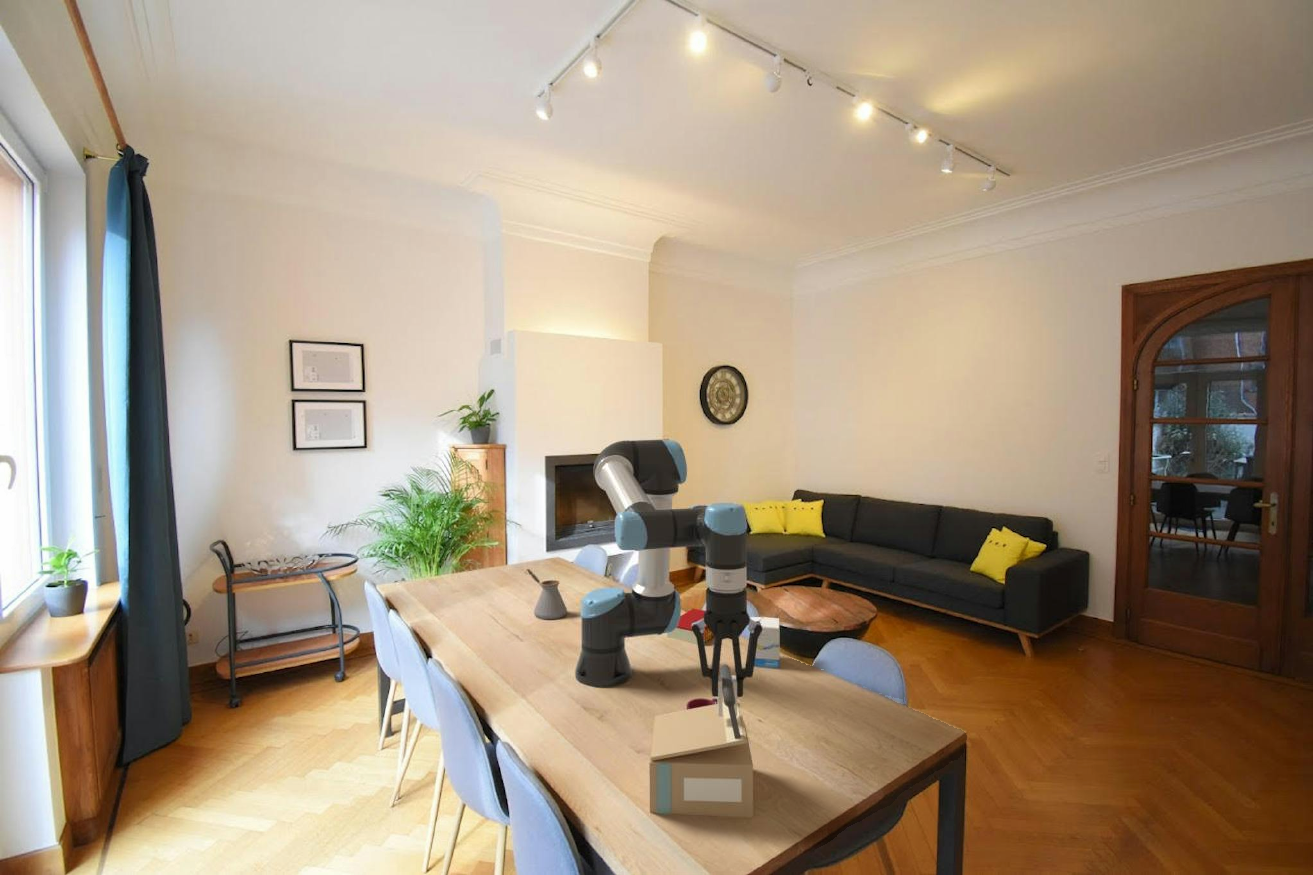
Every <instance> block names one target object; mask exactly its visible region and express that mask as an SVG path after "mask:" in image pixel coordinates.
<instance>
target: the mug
mask: <svg viewBox="0 0 1313 875" xmlns="http://www.w3.org/2000/svg"><path fill="white" fill-rule="evenodd" d="M714 704H718V698H715V697H714V698H713V699H709V698H702V697H701V698H700V697H699V698H695V699H694V698H693V699H691V700H689V701H688V702H686V710H688V709H693V708H699V707H704V706H709V705H714Z"/></svg>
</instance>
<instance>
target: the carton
mask: <svg viewBox="0 0 1313 875" xmlns="http://www.w3.org/2000/svg"><path fill="white" fill-rule="evenodd" d="M743 722H744V727H745V732H746V738H747V743H745V744H739V745H734V746H728V747H723V748H718V749H712V750H707V751H701V752H696V753H691V754H685V755H680V756H674V757H669V758H664V759H658V760H653V761H651V758H650V757H651V753H650V754H649V755H650V756H649V813H654V814H659V815H672V814H673V815H674V814H675V815H689V816H690V815H693V816H710V817H712V816H713V817H728V818H750V819H752V818H754V763H753V759H752V753H751V749H750V748H751V747H750V743H749V737H748V732H747V726H746V722H745V720H743ZM652 727H653V728H652V730H653V729H654V725H653V726H652ZM652 738H653V734H652V735H651V739H652ZM651 748H652V743H651V746H650V749H651Z"/></svg>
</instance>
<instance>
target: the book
mask: <svg viewBox="0 0 1313 875" xmlns="http://www.w3.org/2000/svg"><path fill="white" fill-rule="evenodd" d="M705 612H706V610H704V609H703V610H702V609H699V608H692V609H690V610H688V611H686V612H685V613H683V614H681V615H680V620H679V623H678V626H677V627H676V629H675V630H674V631H672V632H669V633H666V637H667V638H669V639H673V638H674V640H678V641H682V642H686V643H690V644H694V645H697V646H698V644H697V638H696V636H695V634H694V633H693V631H692V622H693V621H699V620H701V619H703V618H704V614H705ZM704 628H705V631H704V632H703V638H704V644H705V643H706V642H707V641H709V640H710V639H712V638H714V635H713V633H712V632H711V631H710V629H709V628H708V627H707V625H705V626H704Z"/></svg>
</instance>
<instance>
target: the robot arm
mask: <svg viewBox="0 0 1313 875" xmlns="http://www.w3.org/2000/svg"><path fill="white" fill-rule="evenodd" d="M687 477H688V465H687V460H686V456H685V453H684V450H683V447H682V445H681V444H680V443H679V442H678V441H676V440H671V439H645V440H644V439H640V440H638V439H637V440H630V439H629V440H619V441H615V442H614V443H611V444H609V445H607V446H605V448H604V449H603V450H601V452H600V453H599V454H598V455H597V457H596V459H595V461H594V463H593V478H594V480H595V481H596V483H597V485H598V487H599V488H600V489H602V490H603V491H605V493H606V495H607V497H608V500H609V501H610V504H611V505H612V507H613V509H614V511H615V513H616V516H615V518H614V538H615V542H616V546H617V547H618V549H619V550H622V551H635V552H638V555H637V556H638V560H637V562H638V563H637V579H636V580H635V581H634V582H633V583H632V585H631V592H625V590H624V589H623V588H621V587H618V586H615V587H612V586H606V587H601V588H596V589H594V590H591V591H590V592H588V593H586V594H585V595H584V596H583V597H582V600H581V607H580V608H581V609H580V617H581V618H580V620H581V651H580V653H579V658H578V661H577V664H576V667H575V672H574V674H575V675H574V677H575V679H576V681H577V682H579V683H580V684H582V685H584V686H588V687H593V688H611V687H616V686H620V685H623V684H624V683H626V682H628V681H630V679H631V678H632V666H631V663H630V659H629V657H628V654H627V650H626V648H625V647H626V645H625V644H626V642H625V640H626V639H627V638H635V637H644V636H653V635H654V636H655V635H657V636H661V635H663V634H667V633H669V632H672V631H674V630H675V629H676V627H677V626H678V623H679V620H680V616H681V615H682V614H681V612H682V605H681V596H680V593H679V591H678V590H677V589H675V585H674V584H673V583H672V582H671V581H670V563H671V562H670V560H671V549H674V548H675V549H676V548H684V547H685V548H687V547H704V548H705V585H706V587H707V588H706V589H705V611H706V612H705V614H704V618H703V619H701V620H699V621H693V622H692V631H693V633H694V634H695V636H696V638H697V644H698V645H697V644H696V645H697V649H698V656H699V662H700V669H701V675H702V677H703V678H709V679H710V680H711V696H712V697H714V698H715V697H716V698H717V699H718V716H723V707H722V702H723V690H722V676H721V675H720V667H721V665H720V662H721V654H722V653H721V652H722V643H723V640H725V639H726V640H727V639H728V640H731V641H732V643H731V644H732V652H733V663H734V672H735V675H734V674H733V675H732V674H731V678H732V684H733V690H734V695H735V701H736V702H735V705H734V709H735V714H736V717H737V700H738V698H742V697H743V696H744V680H745V679H747V678H752V677H753V676H754V669H755V666H754V663H755V656H756V649H757V641H758V637H759V635H760V634H761V632H762V626H761V623H760V622H759V621H756V622H755V621H753V620H751V617H750V616H749V613H748V600H747V599H748V598H747V597H748V595H747V594H748V593H747V592H748V591H747V589H746V587H747V585H748V584H747V579H748V578H747V529H748V522H747V514H746V512H747V511H746V508H745V507H744V506H743V505H742V504H739V503H732V502H719V503H718V502H715V503H710V504H708V505H705V504H704V505H702V504H701V505H700V504H697V505H692V506H690V507H688V508H675V509H673V497H675V496H676V495H677V494H678V493H679V487H680V486H679V484H680V485H682V484H685V483H686V481H687ZM705 625H707V627H708V628H709V629H710V631H711V632H712V633H713V635H714V636H713V640H714V641H713V649H712V650H713V651H712V661H711V667H709V665H708V659H707V652H706V645H705V643H704V638H703V632H704V631H705V628H704V626H705ZM747 627H748V632H749V636H748V637H749V638H748V645H747V651H746V659H745V666H744V668H743V665H742V655H741V654H742V653H741V647H740V645H741V644H740V636H741V634H743V632H744V631H745V629H746V628H747Z"/></svg>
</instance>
